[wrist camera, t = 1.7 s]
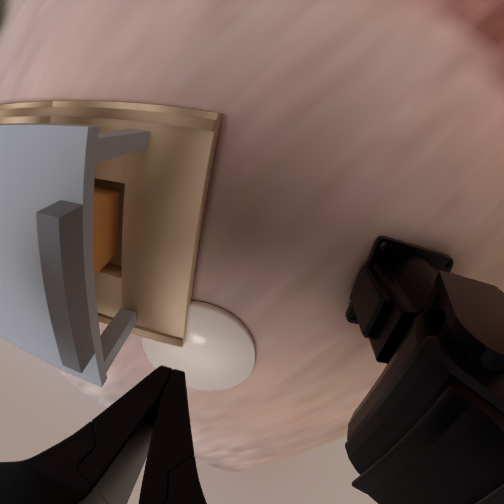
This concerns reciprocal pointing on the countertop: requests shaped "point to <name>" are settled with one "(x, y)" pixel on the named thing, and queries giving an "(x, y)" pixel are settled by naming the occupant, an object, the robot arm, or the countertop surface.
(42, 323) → the grey toy table
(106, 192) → the block
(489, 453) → the robot arm
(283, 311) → the countertop surface
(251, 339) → the dish
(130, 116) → the board
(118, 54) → the countertop surface
